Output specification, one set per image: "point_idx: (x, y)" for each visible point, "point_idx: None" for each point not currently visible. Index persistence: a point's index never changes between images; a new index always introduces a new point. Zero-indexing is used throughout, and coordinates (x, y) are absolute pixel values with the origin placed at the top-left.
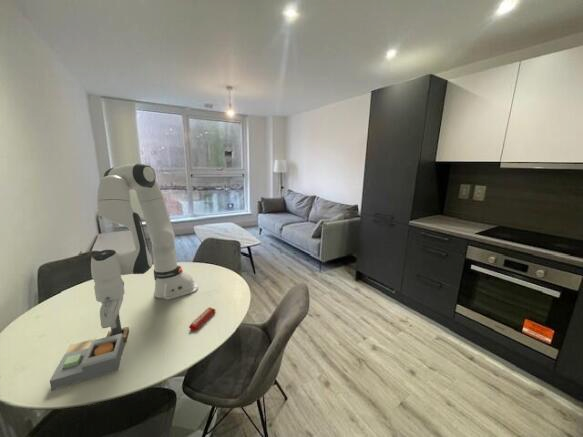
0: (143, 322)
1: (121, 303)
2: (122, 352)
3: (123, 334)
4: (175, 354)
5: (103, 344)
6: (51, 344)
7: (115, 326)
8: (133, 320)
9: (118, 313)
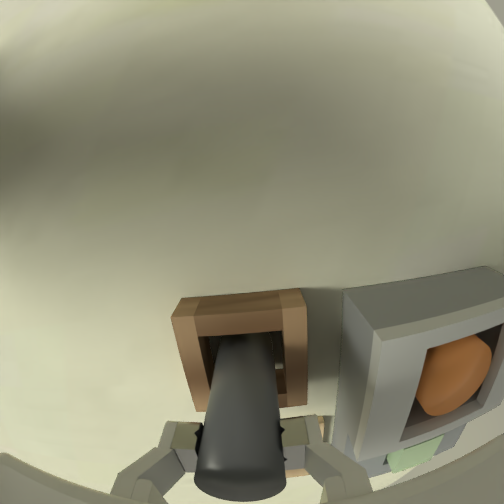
0: (100, 226)
1: (59, 492)
2: (398, 283)
3: (270, 328)
4: (468, 37)
5: (426, 400)
6: (200, 500)
7: (317, 423)
8: (71, 294)
9: (156, 463)
